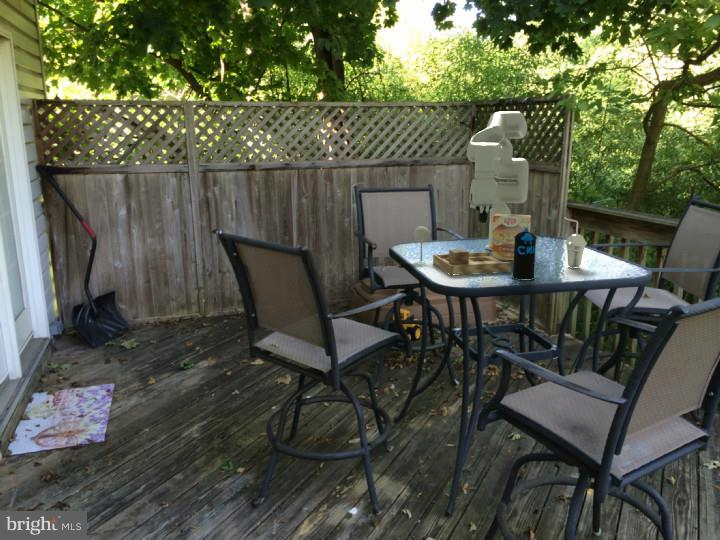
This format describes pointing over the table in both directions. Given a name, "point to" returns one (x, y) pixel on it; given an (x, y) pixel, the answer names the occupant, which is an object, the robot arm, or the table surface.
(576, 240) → the cup with straw
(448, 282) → the table surface
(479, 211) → the robot arm
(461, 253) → the block
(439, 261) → the tray
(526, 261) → the aerosol can
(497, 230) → the coffeecake box
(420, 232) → the lollipop
